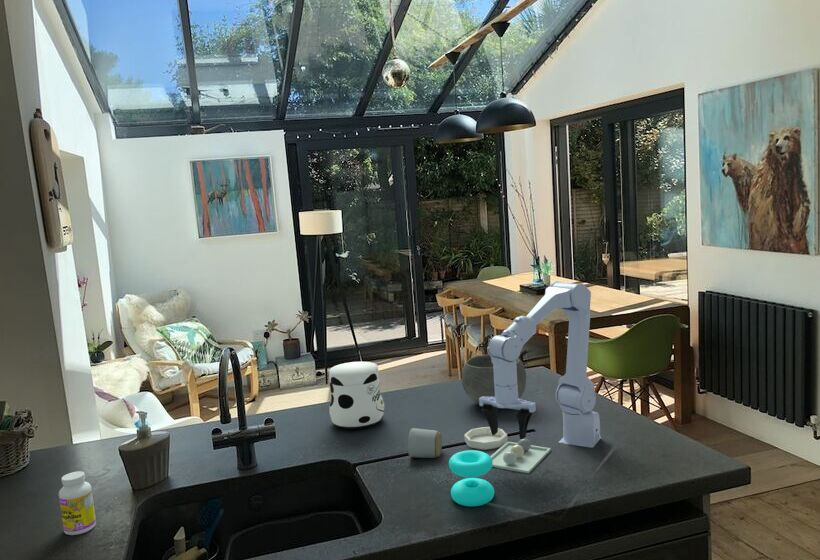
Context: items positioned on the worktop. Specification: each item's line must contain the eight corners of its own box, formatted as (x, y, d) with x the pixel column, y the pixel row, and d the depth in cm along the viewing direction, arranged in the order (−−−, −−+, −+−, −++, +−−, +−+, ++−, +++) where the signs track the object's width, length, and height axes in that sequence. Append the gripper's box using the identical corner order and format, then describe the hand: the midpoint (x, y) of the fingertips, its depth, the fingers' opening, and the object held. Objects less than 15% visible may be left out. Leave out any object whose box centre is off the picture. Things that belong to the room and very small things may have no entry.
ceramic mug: (438, 462, 168) (436, 434, 168) (408, 461, 170) (406, 433, 170) (445, 447, 179) (444, 420, 178) (417, 446, 181) (415, 420, 180)
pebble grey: (519, 462, 163) (518, 450, 163) (513, 468, 160) (513, 455, 160) (506, 460, 165) (506, 448, 164) (501, 465, 162) (500, 453, 162)
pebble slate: (533, 449, 171) (532, 437, 170) (528, 454, 168) (527, 442, 167) (521, 447, 172) (520, 435, 172) (516, 452, 170) (515, 440, 169)
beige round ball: (526, 456, 167) (525, 443, 166) (521, 461, 164) (520, 448, 164) (514, 454, 169) (513, 441, 168) (508, 459, 166) (508, 446, 165)
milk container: (396, 422, 200) (391, 367, 198) (347, 437, 191) (342, 379, 189) (367, 410, 215) (363, 357, 212) (321, 423, 205) (316, 368, 203)
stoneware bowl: (512, 438, 181) (512, 430, 180) (495, 453, 171) (495, 444, 171) (477, 433, 187) (476, 425, 186) (458, 447, 177) (458, 438, 177)
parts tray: (551, 452, 169) (550, 448, 169) (528, 475, 157) (528, 471, 157) (507, 445, 176) (507, 441, 176) (483, 467, 163) (482, 462, 163)
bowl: (533, 413, 200) (530, 366, 198) (465, 417, 200) (462, 371, 198) (522, 392, 221) (519, 350, 219) (461, 396, 221) (458, 354, 219)
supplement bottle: (57, 536, 144) (49, 482, 142) (77, 521, 151) (69, 469, 149) (84, 536, 143) (76, 482, 141) (102, 521, 149) (95, 469, 148)
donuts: (439, 456, 148) (473, 444, 153) (442, 497, 149) (476, 484, 154) (466, 470, 139) (501, 457, 145) (469, 513, 141) (503, 499, 146)
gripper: (472, 385, 160) (475, 437, 162) (526, 391, 153) (529, 445, 154) (484, 377, 166) (487, 427, 168) (537, 382, 158) (540, 435, 160)
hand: (508, 435), depth 162 cm, fingers open, 7 cm apart
